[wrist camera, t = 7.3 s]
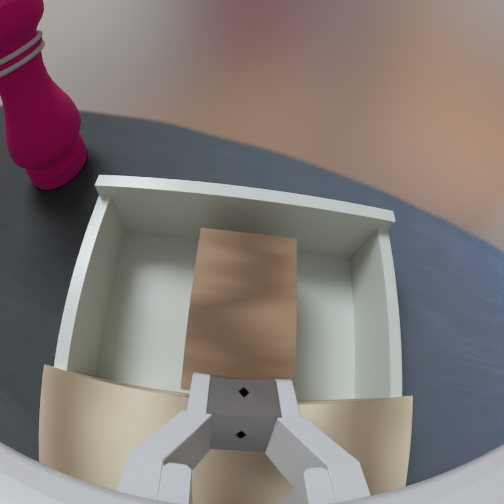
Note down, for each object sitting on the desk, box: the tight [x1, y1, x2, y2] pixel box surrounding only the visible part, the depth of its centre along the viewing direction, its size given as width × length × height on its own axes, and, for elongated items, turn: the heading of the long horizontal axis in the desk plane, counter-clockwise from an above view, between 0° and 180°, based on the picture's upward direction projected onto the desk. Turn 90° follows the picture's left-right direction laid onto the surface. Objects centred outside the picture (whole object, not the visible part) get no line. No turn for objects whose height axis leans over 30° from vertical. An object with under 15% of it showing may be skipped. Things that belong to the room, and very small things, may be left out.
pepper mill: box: [0, 0, 87, 190], centre depth 14 cm, size 7×7×20 cm
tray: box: [54, 175, 402, 401], centre depth 16 cm, size 18×11×6 cm, turn 86°
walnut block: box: [181, 228, 297, 391], centre depth 16 cm, size 5×5×8 cm
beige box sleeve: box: [39, 365, 413, 504], centre depth 11 cm, size 18×11×6 cm, turn 86°
